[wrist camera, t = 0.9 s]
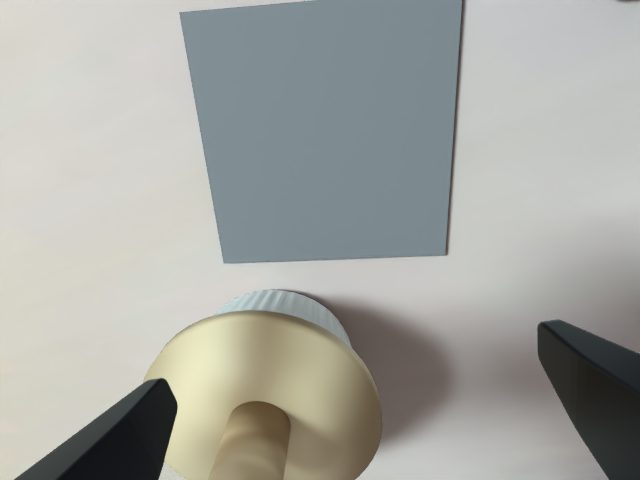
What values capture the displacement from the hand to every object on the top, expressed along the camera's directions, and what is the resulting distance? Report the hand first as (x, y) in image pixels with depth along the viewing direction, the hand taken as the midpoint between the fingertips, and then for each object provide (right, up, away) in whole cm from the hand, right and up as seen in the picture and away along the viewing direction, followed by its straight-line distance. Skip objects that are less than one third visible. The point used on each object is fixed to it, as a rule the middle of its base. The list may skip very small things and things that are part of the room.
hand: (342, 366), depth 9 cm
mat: (0, +8, +11) cm, 13 cm away
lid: (-4, -6, +11) cm, 13 cm away
